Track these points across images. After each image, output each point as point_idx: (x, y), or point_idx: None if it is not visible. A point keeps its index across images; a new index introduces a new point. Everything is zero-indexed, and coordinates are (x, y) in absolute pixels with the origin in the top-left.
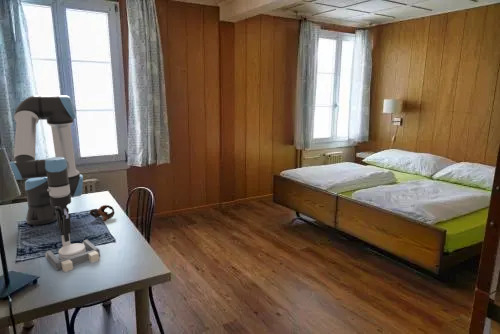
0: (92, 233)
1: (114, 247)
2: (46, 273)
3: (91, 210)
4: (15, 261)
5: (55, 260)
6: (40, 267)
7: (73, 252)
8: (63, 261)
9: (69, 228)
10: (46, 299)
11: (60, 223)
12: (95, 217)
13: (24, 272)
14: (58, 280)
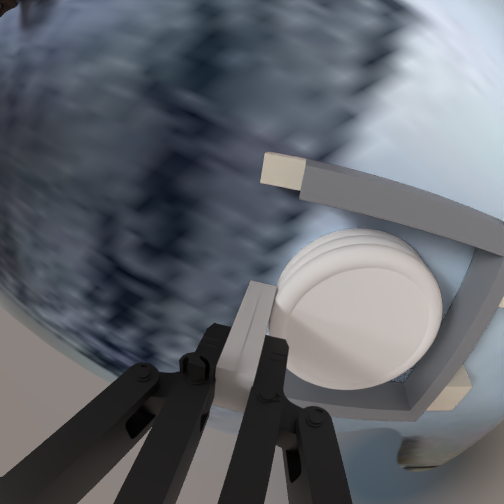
0: (127, 40)
1: (486, 86)
2: None
3: None
4: None
5: (387, 418)
6: None
7: (420, 357)
8: (431, 405)
9: (339, 476)
10: (476, 433)
11: (177, 493)
12: (11, 6)
13: None
14: (456, 407)
